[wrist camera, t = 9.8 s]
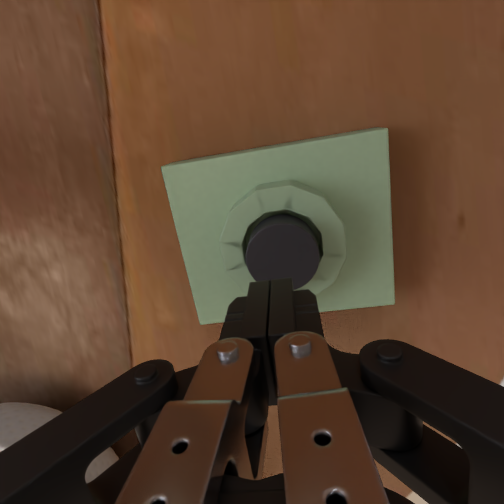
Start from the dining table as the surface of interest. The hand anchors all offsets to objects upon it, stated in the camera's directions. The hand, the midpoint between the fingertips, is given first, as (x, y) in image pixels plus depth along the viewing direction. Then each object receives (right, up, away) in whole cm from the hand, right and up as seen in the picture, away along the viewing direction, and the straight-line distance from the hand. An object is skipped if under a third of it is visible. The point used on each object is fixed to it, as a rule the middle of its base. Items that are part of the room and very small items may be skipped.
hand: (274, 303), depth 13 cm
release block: (+1, +3, +9) cm, 10 cm away
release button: (+1, +2, +6) cm, 7 cm away
